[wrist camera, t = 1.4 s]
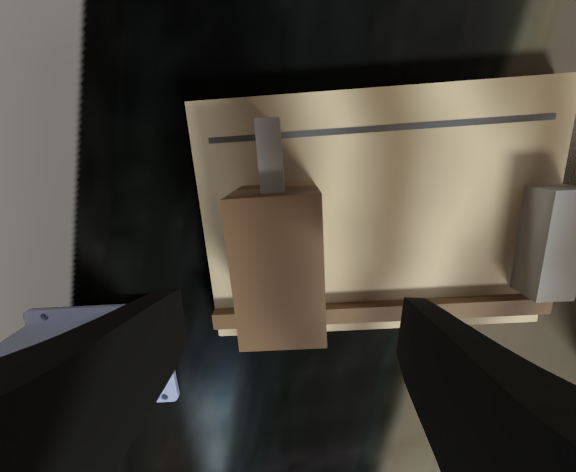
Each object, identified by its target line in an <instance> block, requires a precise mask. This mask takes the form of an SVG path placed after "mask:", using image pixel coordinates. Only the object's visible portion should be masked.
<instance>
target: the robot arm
mask: <svg viewBox="0 0 576 472" xmlns="http://www.w3.org/2000/svg"><path fill="white" fill-rule="evenodd" d="M46 315H47V316H48V317H47V316H46ZM23 317H24V320H25V323H26V326H25V327H23V328H22V329H20V330H19V331H17V332H16V333H14V334H12V335H11V336H9V337H8V338H6V339H5V340H3V341H2V342H0V472H117V471H118V469H119V467H120V465H121V463H122V461H123V459H124V457H125V455H126V453H127V451H128V450H129V448H130V446H131V444H132V442H133V440H134V439H135V437H136V435H137V434H138V432H139V430H140V429H141V427H142V425H143V424H144V422H145V420H146V418H147V417H148V415H149V413H150V412H151V410H152V408H153V407H154V405H155V403H156V402H173V401H176V400H177V399H178V397H179V395H180V392H179V387H178V382H177V378H176V373H175V369H176V367H177V365H178V362H179V360H180V358H181V356H182V353H183V351H184V348H185V346H186V343H187V336H186V328H185V320H184V313H183V305H182V297H181V290H180V289H160V290H157V291H154V292H152V293H149V294H147V295H145V296H143V297H141V298H138V299H136V300H134V301H132V302H130V303H128V304H112V305H92V306H72V307H54V308H53V307H52V308H32V309H29V310H28V311H26V312H25V313H24V315H23ZM396 352H397V356H398V360H399V364H400V367H401V371H402V375H403V378H404V382H405V384H406V387H407V390H408V392H409V395H410V397H411V400H412V402H413V404H414V407H415V409H416V412H417V414H418V417H419V419H420V422H421V424H422V426H423V429H424V431H425V434H426V436H427V438H428V441H429V443H430V446H431V448H432V451H433V453H434V455H435V458H436V460H437V463H438V466H439V468H440V471H441V472H576V385H574V384H572V383H570V382H568V381H566V380H564V379H562V378H560V377H558V376H556V375H554V374H552V373H550V372H548V371H546V370H545V369H543V368H541V367H539V366H537V365H535V364H533V363H531V362H530V361H528V360H526V359H524V358H522V357H521V356H519V355H517V354H515V353H514V352H512V351H510V350H508V349H507V348H505V347H503V346H501V345H500V344H498V343H496V342H495V341H493V340H492V339H490V338H488V337H487V336H485V335H483V334H482V333H480V332H478V331H477V330H475V329H474V328H472V327H471V326H469V325H467V324H466V323H464V322H463V321H461V320H460V319H458V318H457V317H455V316H453V315H452V314H450V313H449V312H447V311H446V310H444V309H442V308H441V307H439V306H438V305H436V304H434V303H433V302H431V301H429V300H427V299H425V298H413V297H404V300H403V307H402V315H401V322H400V329H399V337H398V344H397V351H396ZM164 394H166V395H167V396H166V395H164Z"/></svg>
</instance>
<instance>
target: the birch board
mask: <svg viewBox="0 0 576 472" xmlns="http://www.w3.org/2000/svg"><path fill="white" fill-rule="evenodd" d="M185 109H186V116H187V123H188V129H189V136H190V143H191V150H192V156H193V163H194V170H195V177H196V183H197V190H198V197H199V204H200V210H201V217H202V224H203V231H204V237H205V244H206V251H207V258H208V264H209V271H210V278H211V284H212V291H213V298H214V305H215V310H214V312H213V314H212V321H213V327H214V330H218V332H219V336H234V335H237V329H236V321H235V313H234V305H233V297H232V290H231V282H230V274H229V266H228V259H227V251H226V243H225V235H224V228H223V220H222V212H221V204H220V199H222V198H224V197H225V196H227V195H228V194H230V193H231V192H233V191H235V190H236V189H238V188H239V187H241V186H249V185H260V182H259V170H258V159H257V148H256V137H255V126H254V118H265V117H279V118H280V126H281V140H282V155H283V170H284V183H295V182H311V181H314V183H315V184H316V186H317V187H318V189H319V190H320V191H321V193H322V211H323V241H324V270H325V299H326V329H327V331H343V330H364V329H386V328H400V322H401V315H402V307H403V300H404V297H413V298H425V299H427V300H429V301H431V302H433V303H434V304H436V305H438V306H439V307H441V308H442V309H444V310H446V311H447V312H449V313H450V314H452V315H453V316H455V317H457V318H458V319H460V320H461V321H463V322H464V323H466V324H467V325H473V324H495V323H517V322H537V318H538V315H542V314H551V309H552V304H553V302H565V301H574V300H575V296H576V185H567V184H563V179H564V173H565V168H566V163H567V157H568V152H569V147H570V141H571V136H572V131H573V125H574V120H575V114H576V72H571V73H558V74H545V75H531V76H518V77H505V78H492V79H478V80H465V81H452V82H438V83H425V84H412V85H399V86H385V87H372V88H359V89H345V90H332V91H319V92H305V93H292V94H279V95H266V96H252V97H239V98H226V99H212V100H199V101H186V102H185Z"/></svg>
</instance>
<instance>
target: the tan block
mask: <svg viewBox="0 0 576 472" xmlns="http://www.w3.org/2000/svg"><path fill="white" fill-rule="evenodd" d="M254 126H255V137H256V148H257V159H258V170H259V182H260V185H249V186H241V187H239V188H238V189H236V190H235V191H233V192H231V193H230V194H228V195H227V196H225V197H224V198H222V199H220V204H221V212H222V220H223V228H224V235H225V243H226V251H227V259H228V266H229V274H230V282H231V290H232V297H233V305H234V313H235V321H236V329H237V336H238V344H239V352H248V351H271V350H294V349H316V348H327V329H326V299H325V270H324V241H323V211H322V193H321V191H320V190H319V189H318V187H317V186H316V184H315V183H314V181H311V182H295V183H284V170H283V155H282V140H281V126H280V118H279V117H265V118H254Z"/></svg>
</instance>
